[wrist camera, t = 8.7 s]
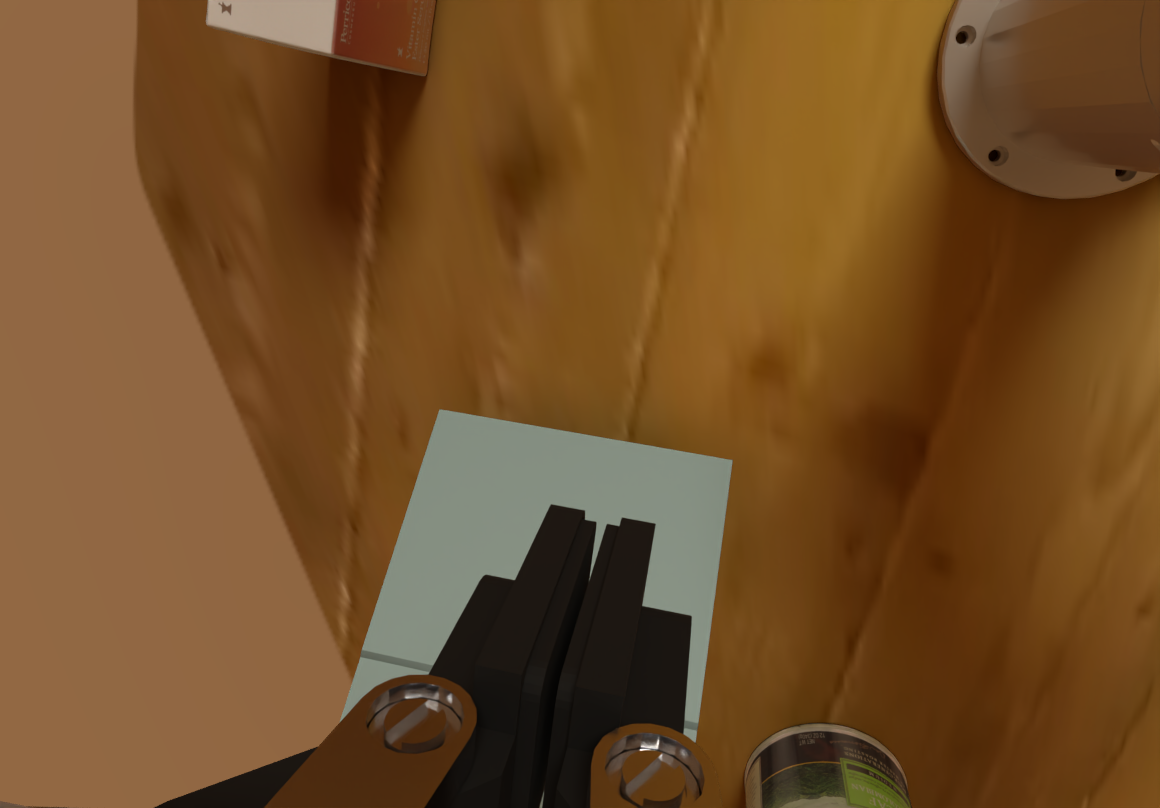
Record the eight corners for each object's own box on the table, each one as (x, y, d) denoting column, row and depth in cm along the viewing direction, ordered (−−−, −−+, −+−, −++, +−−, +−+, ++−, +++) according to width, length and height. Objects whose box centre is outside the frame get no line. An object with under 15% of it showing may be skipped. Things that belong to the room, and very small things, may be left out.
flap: (730, 466, 41) (732, 460, 41) (645, 1111, 29) (646, 1119, 29) (442, 415, 43) (439, 409, 43) (255, 1001, 31) (246, 1006, 31)
